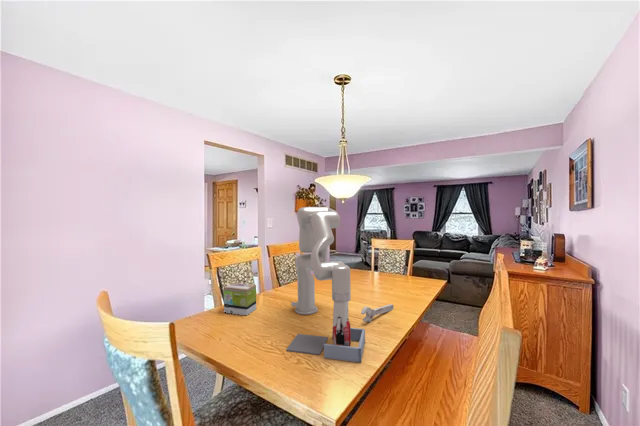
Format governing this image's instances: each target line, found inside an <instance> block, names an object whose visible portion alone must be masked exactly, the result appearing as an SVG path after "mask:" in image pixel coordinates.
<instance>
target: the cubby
mask: <svg viewBox="0 0 640 426" xmlns="http://www.w3.org/2000/svg"><path fill="white" fill-rule="evenodd" d="M351 341H354V342H355V341H356V342H358V346H357V347H356V346H341V345H334V344H330V343H326V344H324V348H323V359H329V360H330V359H331V360H336V361H337V360H338V361H346V362H354V363H360V364H361V363H362V360H363V359H362V358H363V353H364V349H365V344H366V329H365V328H357V327H351Z"/></svg>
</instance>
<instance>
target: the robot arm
mask: <svg viewBox="0 0 640 426" xmlns="http://www.w3.org/2000/svg"><path fill="white" fill-rule="evenodd" d="M296 218H297V222H298V226H299V232H298V233H299V235H298V236H299V237H298V248H299V249H298V250H299V251H300V252H301V253H303V254H299V255H298V256H296V258H295V268H296V275H297V276H296V277H297V280H296V281H297V301H291V303H290V306H291V307H293V308H294V307H295V309H294V311H295V313H296V314H298V315H306V316H307V315H313V314H315V313H317V312H318V311H319V308H318V307H317V306H316V299H315V295H316V292H315V286H316V283H315V279H316V280H317V281H328V280H331V300H332V301H333V310H332V327H333V326H334V327H335V326H336V324H337V328H336V344H341V345H344V327H345V326H346V321H347V319H349V302H350V301H351V299H352V297H351V296H352V295H351V294H352V293H351V291H352V289H351V267H350V266H349V265H347V264H345V263H344V262H343V261H340V260H335V261H327V260H328V247H329V246H331V245H332V244H333V243H334V241H335V236H334V234H333V229H337V228H339V227H340V226H341V217H340V215H339V213H338V211H336V210H335V209H333V208H331V207H328V206H303V207H300V208H298V210H297V213H296ZM311 272H312V273H311ZM312 274H313V275H312ZM341 324H342V325H343V326H341ZM340 328H342V330H341V329H340Z"/></svg>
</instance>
